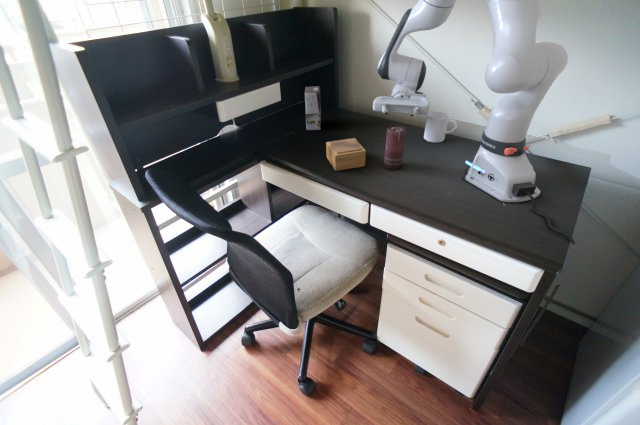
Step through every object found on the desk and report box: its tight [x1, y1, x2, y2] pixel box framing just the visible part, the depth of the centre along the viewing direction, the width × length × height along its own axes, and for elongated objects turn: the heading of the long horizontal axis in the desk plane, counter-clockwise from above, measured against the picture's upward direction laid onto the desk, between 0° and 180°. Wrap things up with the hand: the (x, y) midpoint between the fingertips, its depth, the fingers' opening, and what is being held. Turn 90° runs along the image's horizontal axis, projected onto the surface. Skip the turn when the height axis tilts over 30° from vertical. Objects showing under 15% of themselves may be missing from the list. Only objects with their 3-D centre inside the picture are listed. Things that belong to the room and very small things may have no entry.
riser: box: [325, 137, 367, 172], centre depth 117 cm, size 11×11×6 cm
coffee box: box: [304, 85, 322, 131], centre depth 141 cm, size 9×6×16 cm
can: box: [383, 124, 407, 171], centre depth 110 cm, size 6×6×14 cm
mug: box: [423, 110, 459, 143], centre depth 128 cm, size 8×12×10 cm
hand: (399, 113), depth 115 cm, fingers open, 8 cm apart
